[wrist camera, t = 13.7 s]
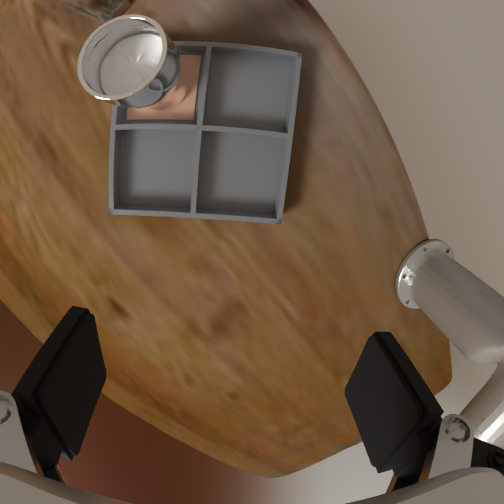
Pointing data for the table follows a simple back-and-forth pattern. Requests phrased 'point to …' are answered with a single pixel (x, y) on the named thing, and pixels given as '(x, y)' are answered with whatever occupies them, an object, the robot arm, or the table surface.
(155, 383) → the table surface
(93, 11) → the brown carved statuette
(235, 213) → the gray compartment tray
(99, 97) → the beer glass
